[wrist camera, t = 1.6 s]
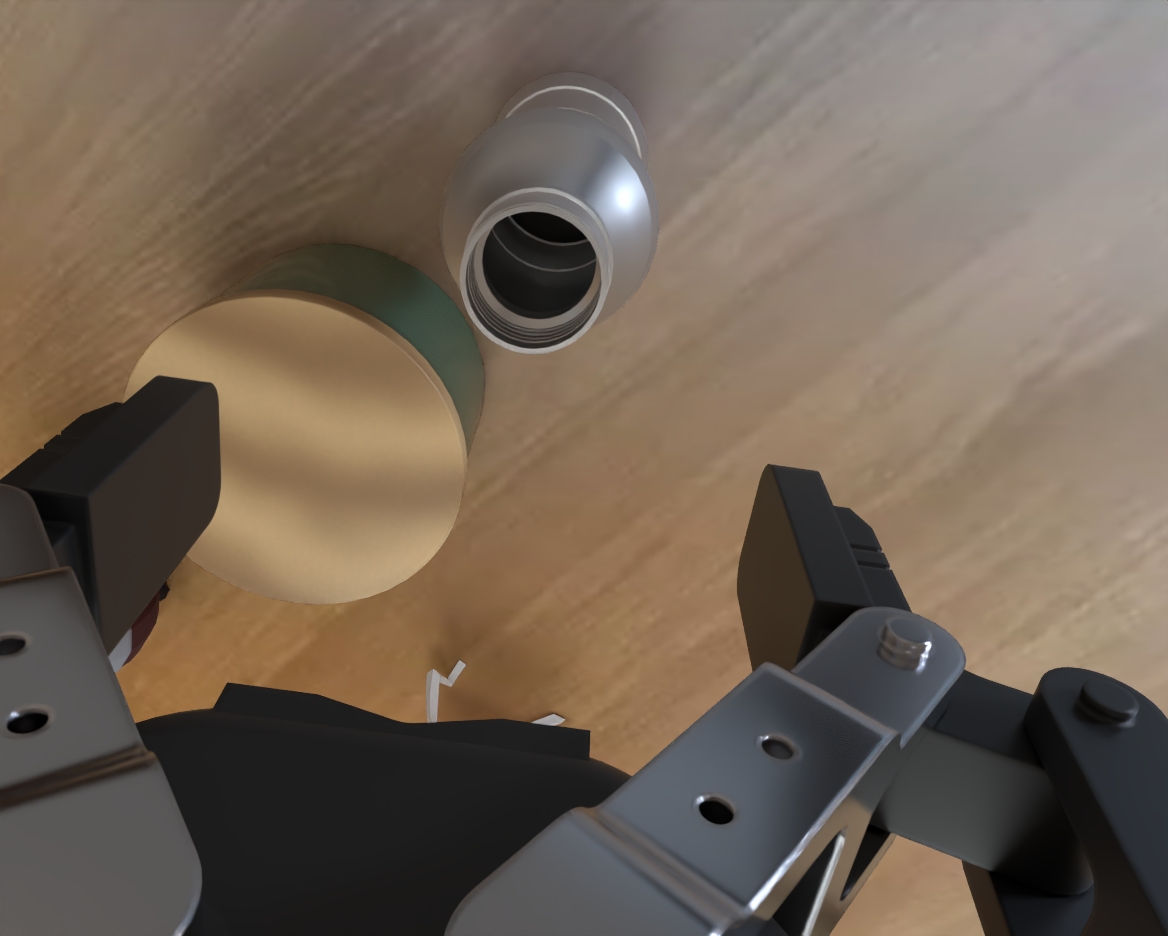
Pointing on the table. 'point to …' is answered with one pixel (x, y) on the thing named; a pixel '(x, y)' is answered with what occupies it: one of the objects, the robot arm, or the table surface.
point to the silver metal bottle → (551, 214)
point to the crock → (329, 421)
